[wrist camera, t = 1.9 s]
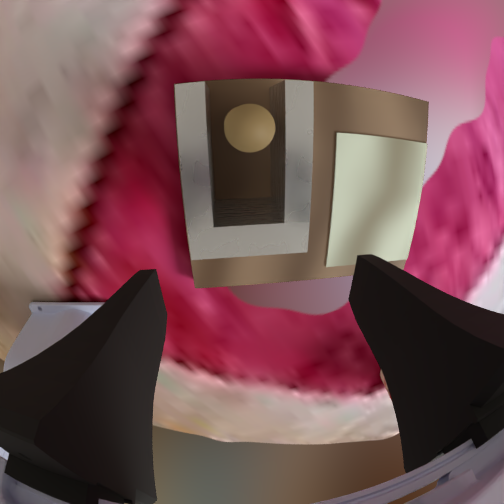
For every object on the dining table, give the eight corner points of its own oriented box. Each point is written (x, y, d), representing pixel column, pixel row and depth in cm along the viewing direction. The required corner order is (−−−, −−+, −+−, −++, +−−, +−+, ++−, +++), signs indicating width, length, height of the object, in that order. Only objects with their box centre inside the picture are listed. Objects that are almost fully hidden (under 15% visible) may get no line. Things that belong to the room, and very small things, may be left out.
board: (196, 280, 20) (189, 348, 14) (176, 85, 13) (148, 71, 8) (397, 262, 21) (440, 312, 15) (420, 101, 15) (487, 110, 9)
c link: (289, 220, 17) (307, 252, 14) (197, 226, 17) (191, 260, 13) (291, 87, 13) (313, 81, 10) (187, 91, 13) (174, 84, 9)
